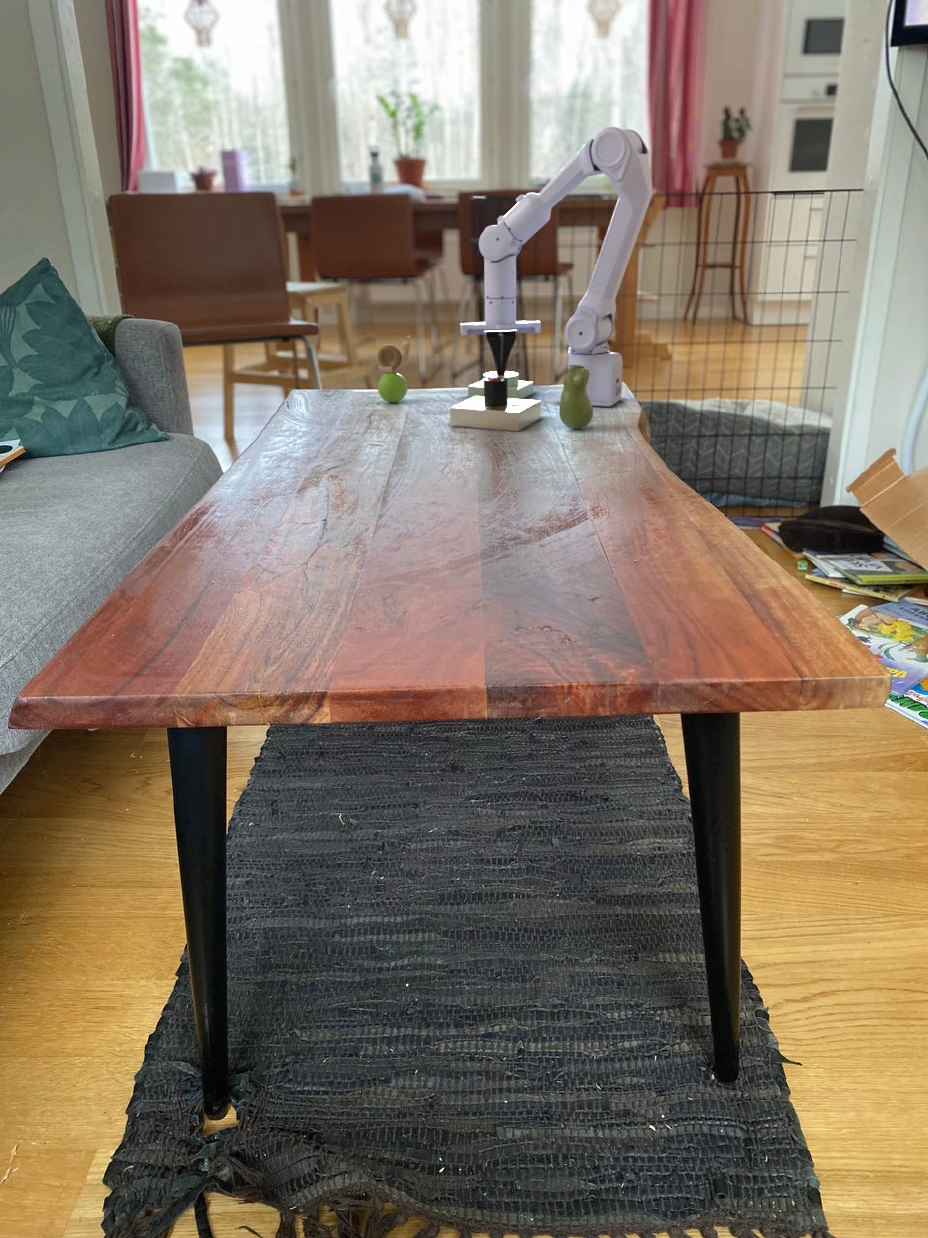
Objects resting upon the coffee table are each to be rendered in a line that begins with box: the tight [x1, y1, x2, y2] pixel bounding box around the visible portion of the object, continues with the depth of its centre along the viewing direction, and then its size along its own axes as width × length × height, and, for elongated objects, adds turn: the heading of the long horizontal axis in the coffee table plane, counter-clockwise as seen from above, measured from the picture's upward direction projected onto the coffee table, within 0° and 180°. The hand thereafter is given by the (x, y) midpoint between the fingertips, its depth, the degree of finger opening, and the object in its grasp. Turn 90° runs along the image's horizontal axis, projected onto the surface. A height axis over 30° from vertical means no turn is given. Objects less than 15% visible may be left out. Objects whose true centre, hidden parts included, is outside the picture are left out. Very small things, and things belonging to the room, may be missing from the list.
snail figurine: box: [377, 334, 411, 404], centre depth 170 cm, size 5×6×12 cm
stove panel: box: [449, 396, 541, 432], centre depth 155 cm, size 12×10×3 cm
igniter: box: [467, 370, 534, 399], centre depth 176 cm, size 10×8×4 cm
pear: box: [559, 365, 594, 430], centre depth 148 cm, size 6×5×10 cm
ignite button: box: [491, 372, 511, 376], centre depth 175 cm, size 4×4×2 cm
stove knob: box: [482, 377, 508, 406], centre depth 154 cm, size 4×4×4 cm
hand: (500, 373), depth 175 cm, fingers closed, pressing on ignite button
